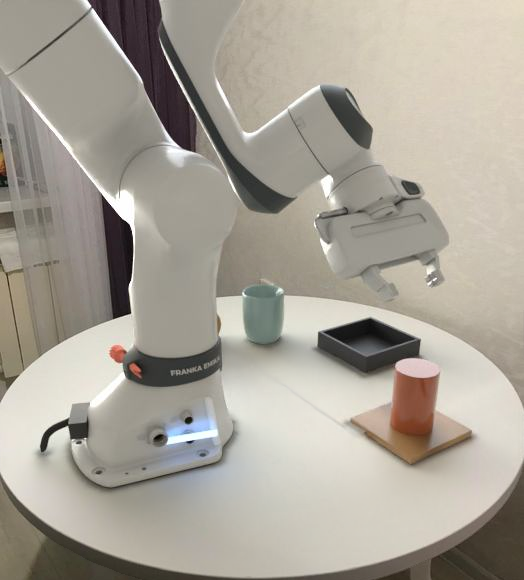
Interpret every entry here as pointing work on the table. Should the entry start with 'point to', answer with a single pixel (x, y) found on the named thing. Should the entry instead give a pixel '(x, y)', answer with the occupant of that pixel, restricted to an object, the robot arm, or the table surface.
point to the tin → (368, 344)
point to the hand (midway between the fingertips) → (415, 291)
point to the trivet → (411, 445)
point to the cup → (263, 313)
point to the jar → (414, 396)
